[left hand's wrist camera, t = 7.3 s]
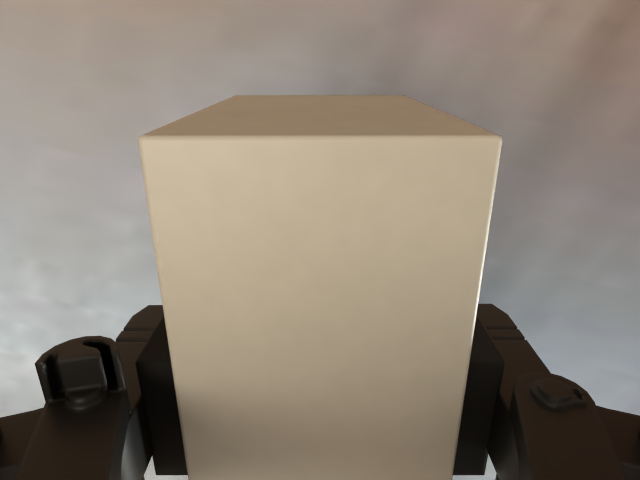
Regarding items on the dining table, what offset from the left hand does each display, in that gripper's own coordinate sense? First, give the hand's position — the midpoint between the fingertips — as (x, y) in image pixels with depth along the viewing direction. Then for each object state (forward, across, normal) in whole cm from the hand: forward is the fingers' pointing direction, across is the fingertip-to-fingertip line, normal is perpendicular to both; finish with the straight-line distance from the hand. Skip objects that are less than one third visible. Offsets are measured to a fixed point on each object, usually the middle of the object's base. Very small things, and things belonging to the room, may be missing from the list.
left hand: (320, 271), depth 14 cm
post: (+1, 0, -25) cm, 25 cm away
